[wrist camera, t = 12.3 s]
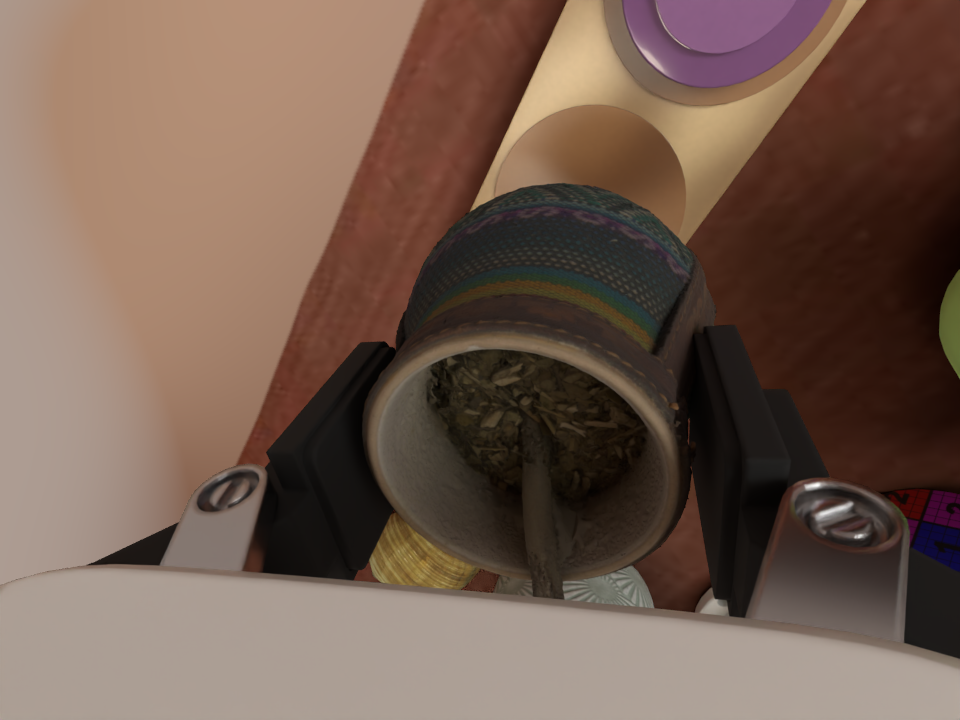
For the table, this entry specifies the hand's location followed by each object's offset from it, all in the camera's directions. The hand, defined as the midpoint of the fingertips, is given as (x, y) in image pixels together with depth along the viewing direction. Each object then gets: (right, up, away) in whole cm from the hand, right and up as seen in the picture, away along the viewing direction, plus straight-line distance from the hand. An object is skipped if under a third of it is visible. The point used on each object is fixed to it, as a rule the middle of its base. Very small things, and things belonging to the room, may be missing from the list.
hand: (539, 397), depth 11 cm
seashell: (-4, -12, +30) cm, 33 cm away
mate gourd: (+1, +3, +4) cm, 5 cm away
